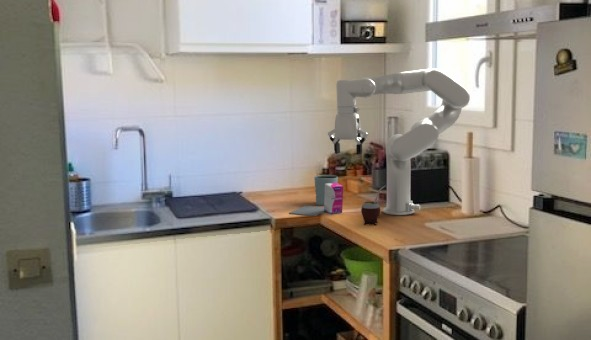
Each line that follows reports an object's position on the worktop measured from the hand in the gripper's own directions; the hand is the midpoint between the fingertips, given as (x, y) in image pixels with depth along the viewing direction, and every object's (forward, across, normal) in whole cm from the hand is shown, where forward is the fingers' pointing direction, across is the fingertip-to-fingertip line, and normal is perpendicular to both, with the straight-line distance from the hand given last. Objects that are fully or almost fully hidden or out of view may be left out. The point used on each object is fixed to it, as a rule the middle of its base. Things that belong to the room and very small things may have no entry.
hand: (348, 153), depth 260 cm
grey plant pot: (+24, +17, -12) cm, 32 cm away
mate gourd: (+25, -15, +12) cm, 31 cm away
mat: (+24, +16, +4) cm, 29 cm away
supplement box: (+24, +7, +2) cm, 25 cm away
